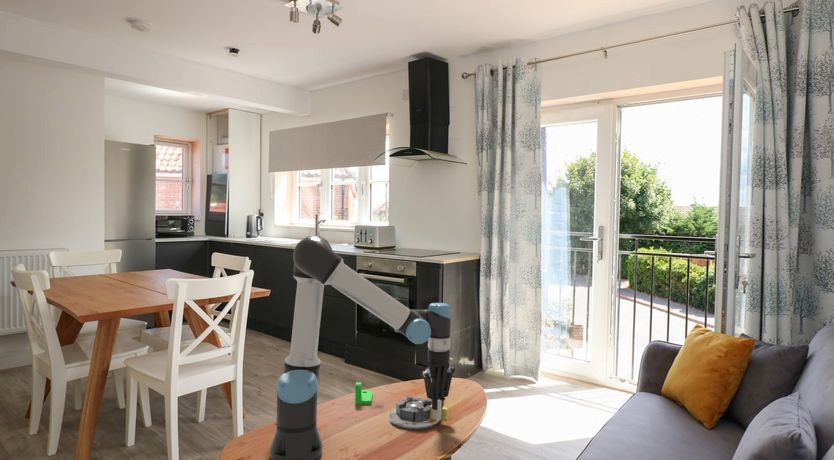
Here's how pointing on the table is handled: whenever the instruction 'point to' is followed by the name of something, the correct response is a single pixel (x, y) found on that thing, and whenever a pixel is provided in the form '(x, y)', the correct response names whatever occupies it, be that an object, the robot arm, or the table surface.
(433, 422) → the housing
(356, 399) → the mechanical part
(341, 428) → the table surface
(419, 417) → the grey ring yellow handle
